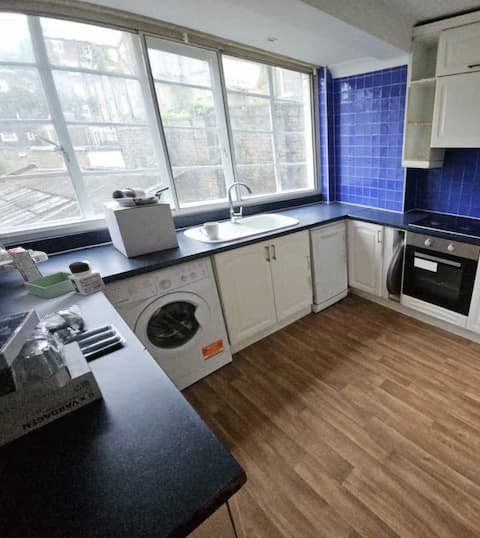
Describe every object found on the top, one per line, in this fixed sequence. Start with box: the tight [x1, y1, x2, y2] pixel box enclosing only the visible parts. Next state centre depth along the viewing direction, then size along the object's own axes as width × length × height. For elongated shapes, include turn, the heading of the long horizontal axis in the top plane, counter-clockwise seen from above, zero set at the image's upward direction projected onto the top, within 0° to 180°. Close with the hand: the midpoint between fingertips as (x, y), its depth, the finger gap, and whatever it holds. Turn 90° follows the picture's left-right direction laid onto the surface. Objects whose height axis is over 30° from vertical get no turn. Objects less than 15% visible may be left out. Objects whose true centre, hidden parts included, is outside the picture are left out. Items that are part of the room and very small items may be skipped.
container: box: [68, 260, 106, 296], centre depth 124 cm, size 8×8×13 cm
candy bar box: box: [5, 246, 44, 283], centre depth 132 cm, size 11×5×16 cm, turn 58°
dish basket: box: [23, 270, 74, 300], centre depth 128 cm, size 13×16×5 cm
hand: (25, 264), depth 133 cm, fingers closed on candy bar box, 5 cm apart
